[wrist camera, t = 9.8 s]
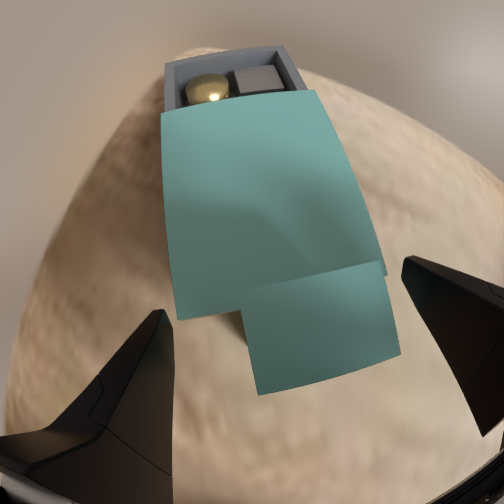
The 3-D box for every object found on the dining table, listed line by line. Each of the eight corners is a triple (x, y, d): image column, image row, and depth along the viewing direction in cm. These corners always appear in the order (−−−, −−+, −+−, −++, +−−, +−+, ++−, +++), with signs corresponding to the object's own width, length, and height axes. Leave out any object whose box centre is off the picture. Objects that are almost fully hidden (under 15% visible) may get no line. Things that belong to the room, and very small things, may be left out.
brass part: (234, 123, 19) (231, 94, 16) (194, 130, 19) (186, 102, 16) (228, 98, 20) (225, 70, 17) (191, 105, 20) (184, 78, 17)
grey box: (318, 182, 18) (333, 142, 14) (184, 206, 18) (166, 170, 14) (280, 84, 21) (283, 45, 17) (176, 101, 21) (165, 63, 16)
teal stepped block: (362, 330, 15) (473, 320, 6) (208, 364, 15) (142, 408, 5) (304, 136, 19) (327, 24, 9) (179, 158, 18) (136, 48, 9)
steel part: (281, 116, 19) (284, 87, 16) (242, 121, 19) (240, 92, 16) (272, 92, 20) (273, 64, 17) (235, 97, 20) (233, 69, 17)
